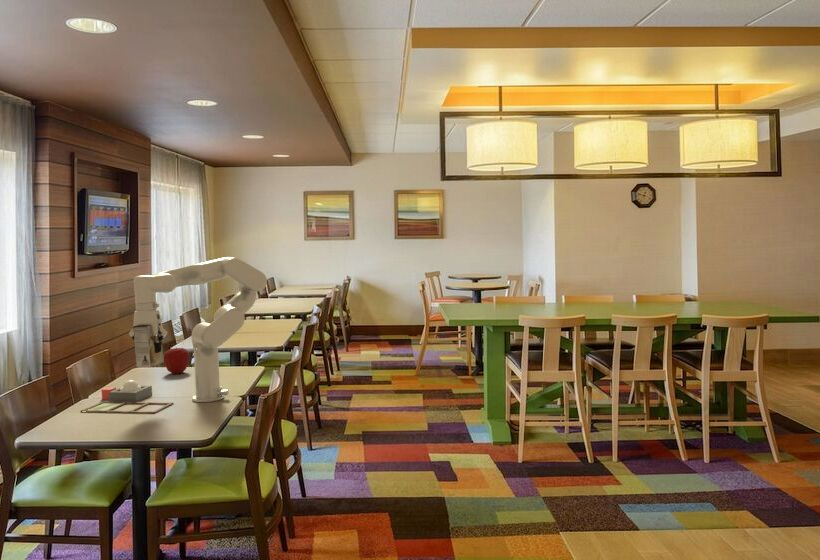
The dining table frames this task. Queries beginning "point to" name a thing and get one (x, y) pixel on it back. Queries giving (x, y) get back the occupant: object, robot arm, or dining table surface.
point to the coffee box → (146, 347)
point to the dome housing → (130, 395)
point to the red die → (107, 392)
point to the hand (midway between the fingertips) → (149, 352)
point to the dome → (130, 386)
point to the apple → (176, 360)
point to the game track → (113, 405)
